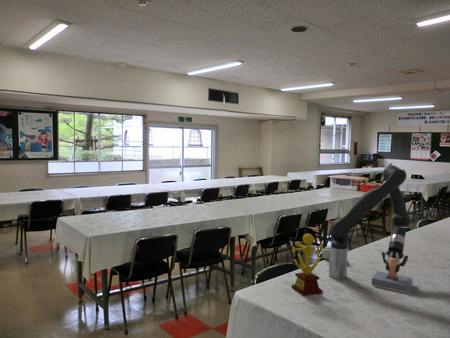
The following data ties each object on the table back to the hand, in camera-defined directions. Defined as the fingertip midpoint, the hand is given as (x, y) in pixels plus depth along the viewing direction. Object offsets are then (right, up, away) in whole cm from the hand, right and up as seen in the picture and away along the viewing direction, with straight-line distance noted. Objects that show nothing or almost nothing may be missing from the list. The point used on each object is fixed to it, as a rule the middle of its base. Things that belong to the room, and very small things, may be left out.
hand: (392, 270), depth 191 cm
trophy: (-48, -9, -7) cm, 49 cm away
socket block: (+1, -8, +2) cm, 9 cm away
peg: (+1, -6, +2) cm, 6 cm away
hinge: (-17, -6, +45) cm, 49 cm away
